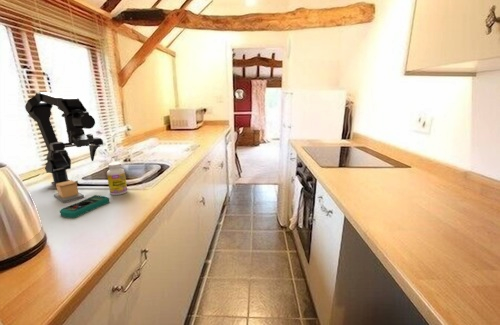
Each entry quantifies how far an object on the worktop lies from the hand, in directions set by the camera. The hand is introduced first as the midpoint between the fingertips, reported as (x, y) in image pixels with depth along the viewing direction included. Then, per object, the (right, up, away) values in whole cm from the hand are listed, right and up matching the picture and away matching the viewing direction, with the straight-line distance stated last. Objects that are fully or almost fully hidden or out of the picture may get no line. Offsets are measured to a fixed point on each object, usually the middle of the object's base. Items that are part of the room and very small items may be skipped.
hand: (81, 162), depth 113 cm
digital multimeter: (+15, -17, -19) cm, 30 cm away
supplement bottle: (+19, -13, -4) cm, 24 cm away
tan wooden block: (0, -13, -8) cm, 15 cm away
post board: (0, -14, -8) cm, 16 cm away
